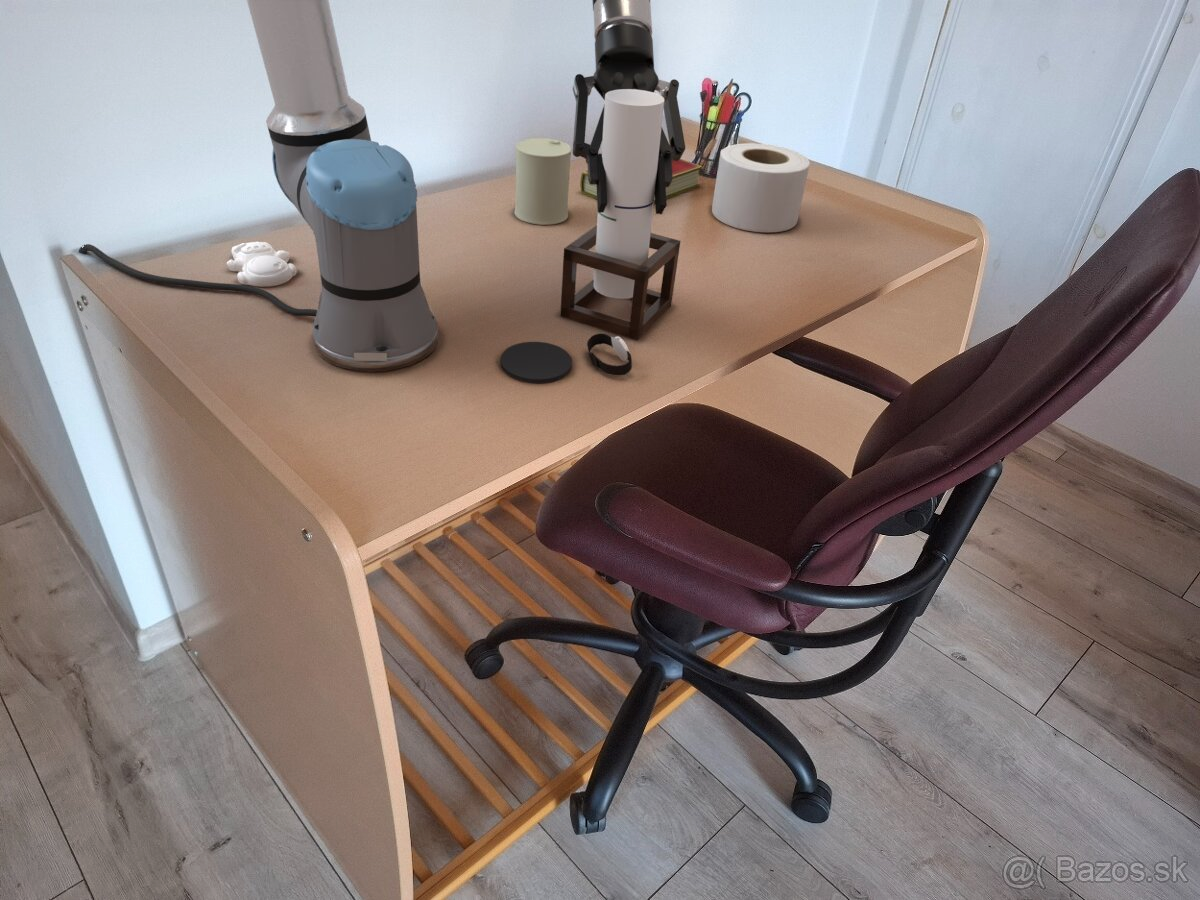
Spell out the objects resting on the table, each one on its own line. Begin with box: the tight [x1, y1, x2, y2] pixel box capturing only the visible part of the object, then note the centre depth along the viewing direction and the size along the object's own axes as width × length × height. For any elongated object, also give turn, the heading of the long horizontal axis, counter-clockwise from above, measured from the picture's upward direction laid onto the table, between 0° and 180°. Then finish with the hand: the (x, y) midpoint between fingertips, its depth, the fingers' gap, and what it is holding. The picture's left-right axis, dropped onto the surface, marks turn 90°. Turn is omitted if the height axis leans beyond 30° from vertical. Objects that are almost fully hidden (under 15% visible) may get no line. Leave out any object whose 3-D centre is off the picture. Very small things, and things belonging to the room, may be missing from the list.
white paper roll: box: [711, 142, 811, 234], centre depth 147 cm, size 16×15×11 cm
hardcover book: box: [579, 158, 704, 204], centre depth 155 cm, size 12×21×4 cm, turn 139°
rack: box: [559, 224, 681, 341], centre depth 115 cm, size 12×12×10 cm
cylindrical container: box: [593, 89, 664, 300], centre depth 108 cm, size 7×7×25 cm
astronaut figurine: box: [226, 241, 298, 288], centre depth 118 cm, size 9×12×3 cm
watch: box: [586, 332, 633, 376], centre depth 105 cm, size 8×5×4 cm, turn 33°
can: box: [514, 137, 573, 226], centre depth 140 cm, size 9×9×12 cm
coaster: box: [499, 341, 573, 384], centre depth 105 cm, size 9×9×1 cm
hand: (631, 208), depth 105 cm, fingers closed on cylindrical container, 7 cm apart
